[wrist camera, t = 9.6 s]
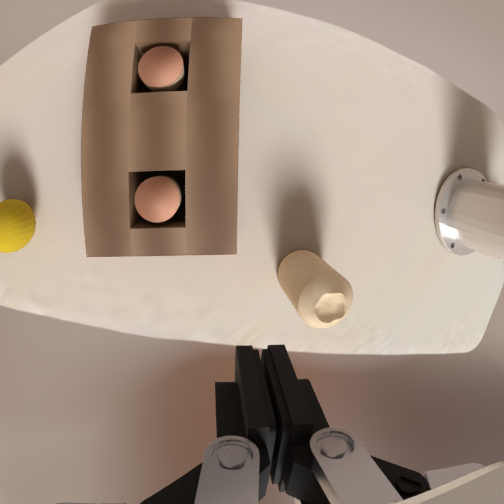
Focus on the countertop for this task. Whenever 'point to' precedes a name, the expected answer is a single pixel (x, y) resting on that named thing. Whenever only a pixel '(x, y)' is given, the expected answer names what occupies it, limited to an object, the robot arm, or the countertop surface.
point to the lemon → (15, 225)
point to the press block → (161, 137)
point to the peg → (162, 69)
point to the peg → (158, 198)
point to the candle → (315, 289)
